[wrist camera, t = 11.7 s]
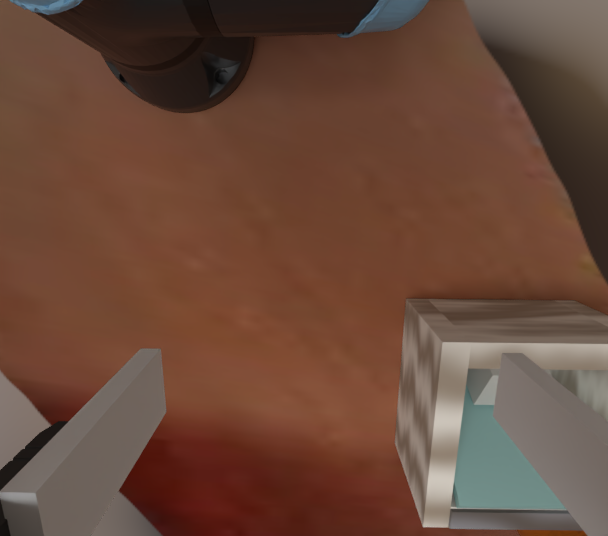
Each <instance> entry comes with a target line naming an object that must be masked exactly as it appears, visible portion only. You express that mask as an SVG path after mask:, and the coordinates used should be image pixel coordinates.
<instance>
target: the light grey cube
mask: <svg viewBox="0 0 608 536" xmlns="http://www.w3.org/2000/svg"><path fill="white" fill-rule="evenodd" d="M499 370H500V369H468V373H467V381H466V384H467V387H468V390H469V393H470V395H471V398H472V401H473V404H474V405H494V404H495V397H496V390H497V384H498V377H499ZM543 370H544V371H545V372H546V373H548V374H549V375H550V376H551V377H552V375H551V373H550V371H549V369H543Z"/></svg>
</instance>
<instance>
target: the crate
mask: <svg viewBox="0 0 608 536" xmlns="http://www.w3.org/2000/svg"><path fill="white" fill-rule="evenodd" d="M502 353H523V354H524V355H525V356H526V357H528V358H529V359H530V360H531V361H533V362H534V363H535V364H536V365H538V366H539V367H540V368H541V369H549V371H550V373H551V375H552V377H553V378H554V379H555V380H556V381H558V382H559V383H560V384H561V385H563V386H564V387H565V388H566V389H568V390H569V391H570V392H571V393H573V394H574V395H575V396H576V397H578V398H579V399H580V400H581V401H583V402H584V403H585V404H586V405H588V406H589V407H590V408H591V409H593V410H594V411H595V412H596V413H598V414H599V415H600V416H601V417H603V418H604V419H605V420H606V421H608V315H606V314H604V313H601V312H599V311H597V310H595V309H592V308H590V307H588V306H586V305H583V304H581V303H579V302H577V301H575V300H486V299H406V306H405V319H404V331H403V344H402V357H401V370H400V383H399V395H398V408H397V421H396V434H395V445H396V448H397V451H398V454H399V457H400V460H401V463H402V466H403V469H404V472H405V475H406V478H407V481H408V484H409V487H410V490H411V493H412V496H413V499H414V502H415V505H416V508H417V511H418V513H419V516H420V519H421V522H422V525H423V527H449V528H450V529H506V530H577V531H583V529H582V528H581V527H580V526H579V524H578V523H577V522H576V521H575V519H574V518H573V517H572V516H571V514H570V513H569V512H568V510H558V509H486V508H457V507H456V503H455V498H454V494H453V485H454V477H455V469H456V461H457V453H458V445H459V437H460V429H461V421H462V413H463V405H464V397H465V389H466V381H467V373H468V369H500V363H501V357H502Z"/></svg>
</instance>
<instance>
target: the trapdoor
mask: <svg viewBox="0 0 608 536" xmlns="http://www.w3.org/2000/svg"><path fill="white" fill-rule="evenodd" d="M493 410H494V405H474V404H473V401H472V398H471V395H470V393H469V390H468V387H467V384H466V389H465V397H464V405H463V413H462V421H461V429H460V437H459V445H458V453H457V461H456V469H455V477H454V485H453V494H454V498H455V503H456V507H457V508H486V509H558V510H567V509H566V508H565V507H564V505H563V504H562V503H561V502H560V500H559V499H558V498H557V497H556V495H555V494H554V493H553V491H552V490H551V489H550V488H549V486H548V485H547V484H546V483H545V481H544V480H543V479H542V478H541V476H540V475H539V474H538V472H537V471H536V470H535V469H534V467H533V466H532V465H531V464H530V462H529V461H528V460H527V459H526V457H525V456H524V455H523V454H522V452H521V451H520V450H519V448H518V447H517V446H516V445H515V443H514V442H513V441H512V440H511V438H510V437H509V436H508V435H507V433H506V432H505V431H504V429H503V428H502V427H501V426H500V424H499V423H498V422H497V421H496V419H495V418H494V417H493Z"/></svg>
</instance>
